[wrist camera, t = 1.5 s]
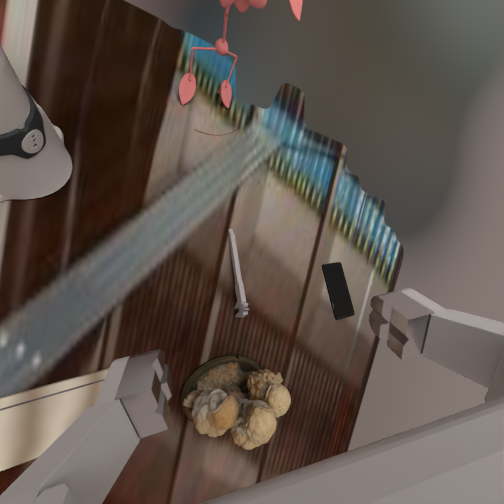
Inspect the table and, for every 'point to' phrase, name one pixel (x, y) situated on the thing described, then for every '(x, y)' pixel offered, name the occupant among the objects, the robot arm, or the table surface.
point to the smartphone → (338, 290)
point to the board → (43, 416)
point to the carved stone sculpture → (235, 400)
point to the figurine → (226, 51)
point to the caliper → (237, 279)
